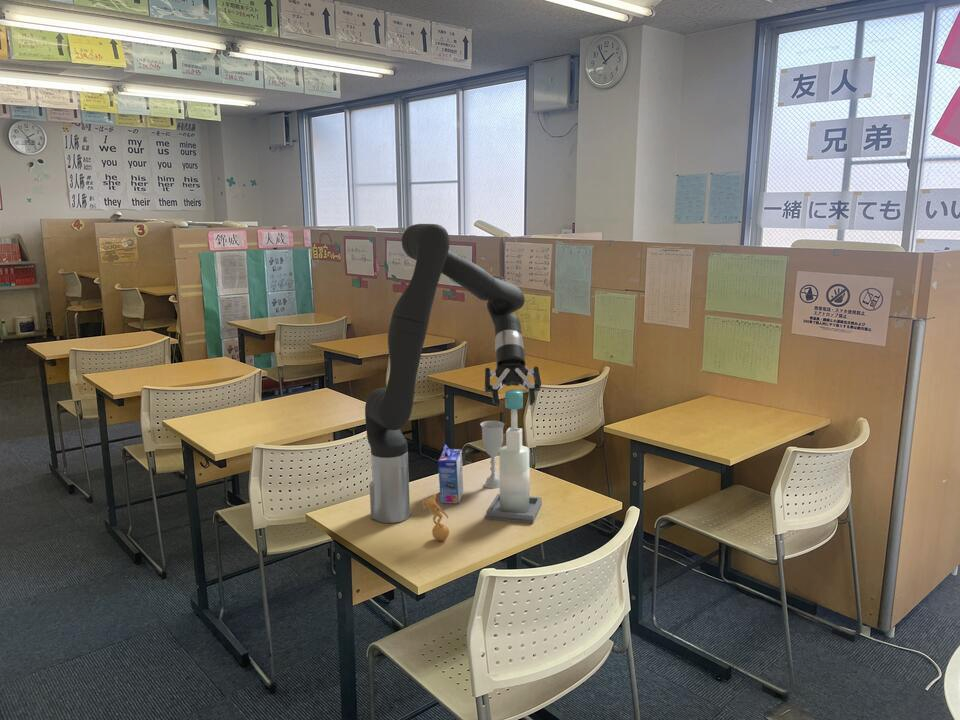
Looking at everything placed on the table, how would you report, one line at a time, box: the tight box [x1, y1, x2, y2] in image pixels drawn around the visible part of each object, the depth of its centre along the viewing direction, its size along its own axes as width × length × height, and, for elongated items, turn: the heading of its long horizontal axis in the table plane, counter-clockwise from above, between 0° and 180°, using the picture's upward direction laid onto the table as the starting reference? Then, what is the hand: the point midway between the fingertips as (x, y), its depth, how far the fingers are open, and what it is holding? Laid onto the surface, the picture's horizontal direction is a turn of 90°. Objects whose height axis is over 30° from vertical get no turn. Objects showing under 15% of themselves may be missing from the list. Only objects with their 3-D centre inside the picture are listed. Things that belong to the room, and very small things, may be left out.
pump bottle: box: [485, 427, 543, 524], centre depth 179 cm, size 12×12×22 cm
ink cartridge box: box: [437, 444, 464, 504], centre depth 190 cm, size 10×6×14 cm, turn 174°
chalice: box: [480, 420, 506, 489], centre depth 198 cm, size 7×7×18 cm
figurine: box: [421, 493, 450, 542], centre depth 163 cm, size 8×6×12 cm
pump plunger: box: [504, 389, 524, 430], centre depth 176 cm, size 4×4×10 cm
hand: (514, 404), depth 174 cm, fingers open, 8 cm apart
